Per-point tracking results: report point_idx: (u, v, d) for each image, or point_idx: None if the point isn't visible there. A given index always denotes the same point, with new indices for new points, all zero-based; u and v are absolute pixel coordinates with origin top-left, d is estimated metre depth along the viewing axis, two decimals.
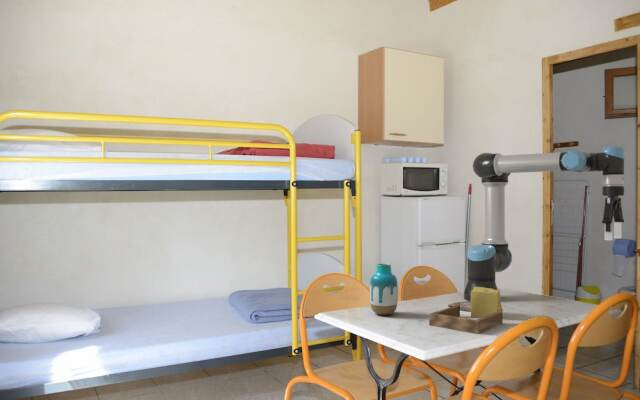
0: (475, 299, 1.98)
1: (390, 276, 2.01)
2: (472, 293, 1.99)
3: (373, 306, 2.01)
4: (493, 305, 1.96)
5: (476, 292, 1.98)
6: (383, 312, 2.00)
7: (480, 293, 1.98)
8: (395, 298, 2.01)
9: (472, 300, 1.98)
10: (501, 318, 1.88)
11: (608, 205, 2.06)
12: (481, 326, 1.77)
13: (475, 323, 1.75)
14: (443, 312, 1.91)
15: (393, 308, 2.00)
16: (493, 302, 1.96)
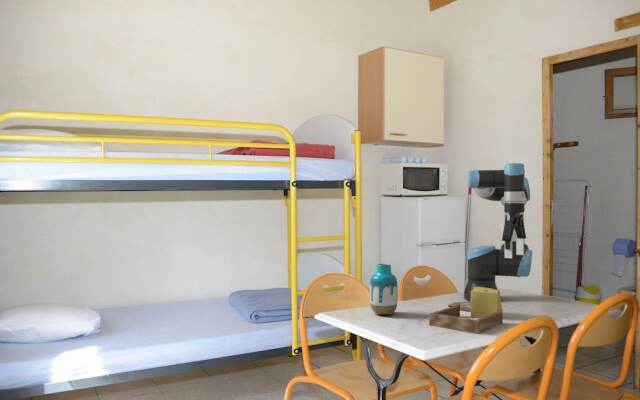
0: (475, 299, 1.98)
1: (390, 276, 2.01)
2: (472, 293, 1.99)
3: (373, 306, 2.01)
4: (493, 305, 1.96)
5: (476, 292, 1.98)
6: (383, 312, 2.00)
7: (480, 293, 1.98)
8: (395, 298, 2.01)
9: (472, 300, 1.98)
10: (501, 318, 1.88)
11: (508, 222, 2.04)
12: (481, 326, 1.77)
13: (475, 323, 1.75)
14: (443, 312, 1.91)
15: (393, 308, 2.00)
16: (493, 302, 1.96)
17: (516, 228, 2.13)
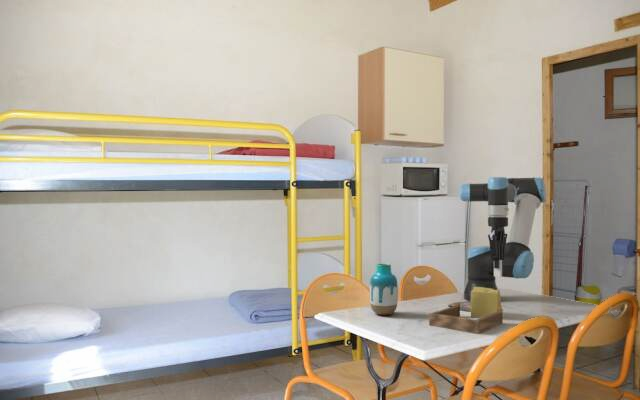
0: (475, 299, 1.98)
1: (390, 276, 2.01)
2: (472, 293, 1.99)
3: (373, 306, 2.01)
4: (493, 305, 1.96)
5: (476, 292, 1.98)
6: (383, 312, 2.00)
7: (480, 293, 1.98)
8: (395, 298, 2.01)
9: (472, 300, 1.98)
10: (501, 318, 1.88)
11: (492, 242, 2.06)
12: (481, 326, 1.77)
13: (475, 323, 1.75)
14: (443, 312, 1.91)
15: (393, 308, 2.00)
16: (493, 302, 1.96)
17: None
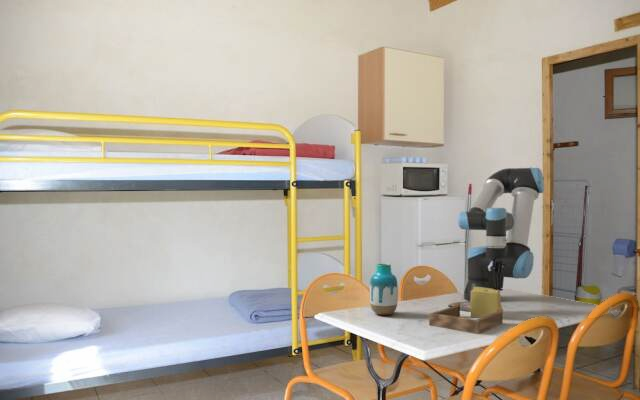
0: (475, 299, 1.98)
1: (390, 276, 2.01)
2: (472, 293, 1.99)
3: (373, 306, 2.01)
4: (493, 305, 1.96)
5: (476, 292, 1.98)
6: (383, 312, 2.00)
7: (480, 293, 1.98)
8: (395, 298, 2.01)
9: (472, 300, 1.98)
10: (501, 318, 1.88)
11: (490, 273, 2.04)
12: (481, 326, 1.77)
13: (475, 323, 1.75)
14: (443, 312, 1.91)
15: (393, 308, 2.00)
16: (493, 302, 1.96)
17: None
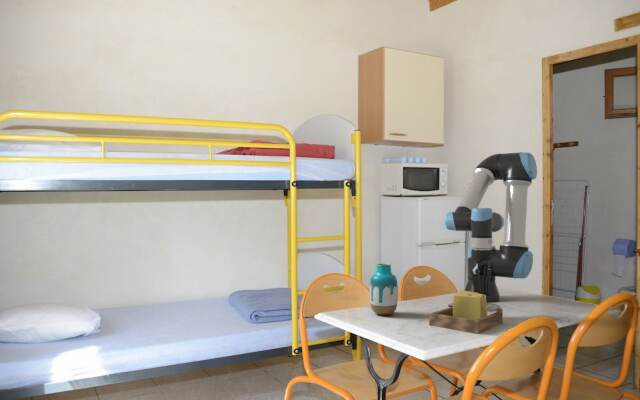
0: (457, 303, 1.89)
1: (390, 276, 2.01)
2: (454, 297, 1.90)
3: (373, 306, 2.01)
4: (476, 310, 1.87)
5: (458, 296, 1.90)
6: (383, 312, 2.00)
7: (463, 297, 1.89)
8: (395, 298, 2.01)
9: (454, 304, 1.90)
10: (501, 318, 1.88)
11: (475, 277, 1.95)
12: (481, 326, 1.77)
13: (475, 323, 1.75)
14: (443, 312, 1.91)
15: (393, 308, 2.00)
16: (476, 307, 1.87)
17: None
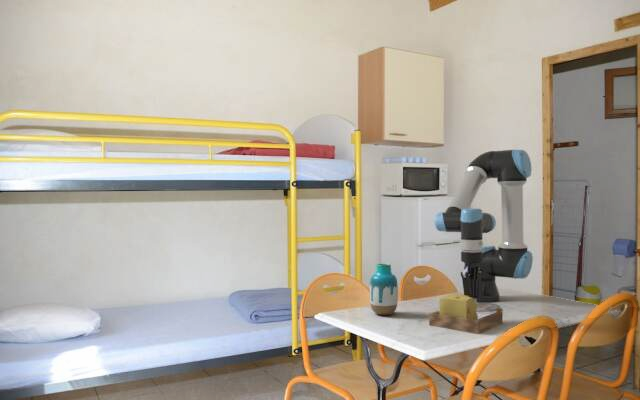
0: (444, 306, 1.85)
1: (390, 276, 2.01)
2: (441, 300, 1.86)
3: (373, 306, 2.01)
4: (462, 313, 1.81)
5: (445, 299, 1.85)
6: (383, 312, 2.00)
7: (449, 300, 1.84)
8: (395, 298, 2.01)
9: (441, 307, 1.85)
10: (501, 318, 1.88)
11: (465, 280, 1.89)
12: (481, 326, 1.77)
13: (475, 323, 1.75)
14: None
15: (393, 308, 2.00)
16: (462, 310, 1.81)
17: None
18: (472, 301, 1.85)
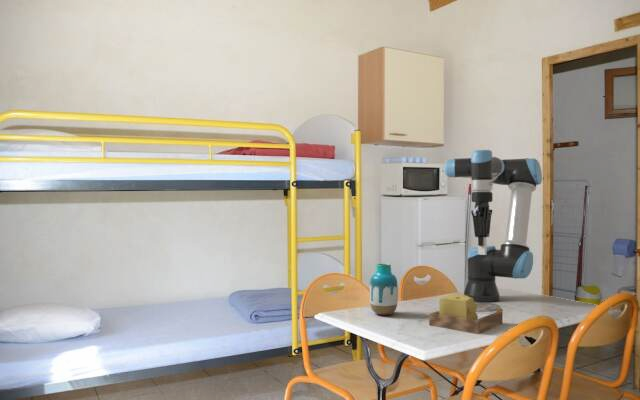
0: (444, 306, 1.85)
1: (390, 276, 2.01)
2: (441, 300, 1.86)
3: (373, 306, 2.01)
4: (462, 314, 1.81)
5: (445, 299, 1.85)
6: (383, 312, 2.00)
7: (449, 300, 1.84)
8: (395, 298, 2.01)
9: (441, 307, 1.85)
10: (501, 318, 1.88)
11: (476, 218, 1.95)
12: (481, 326, 1.77)
13: (475, 323, 1.75)
14: None
15: (393, 308, 2.00)
16: (462, 310, 1.81)
17: None
18: (472, 301, 1.85)
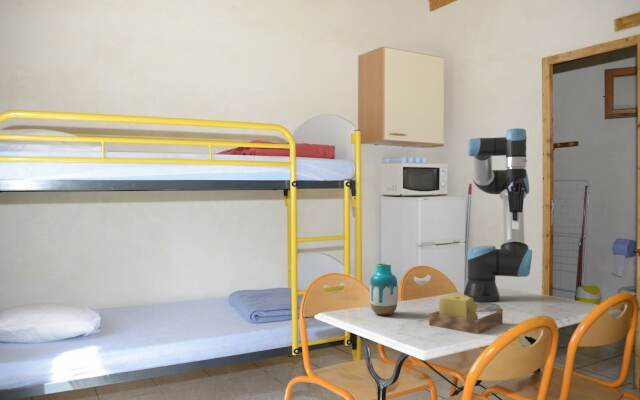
0: (444, 306, 1.85)
1: (390, 276, 2.01)
2: (441, 300, 1.86)
3: (373, 306, 2.01)
4: (462, 314, 1.81)
5: (445, 299, 1.85)
6: (383, 312, 2.00)
7: (449, 300, 1.84)
8: (395, 298, 2.01)
9: (441, 307, 1.85)
10: (501, 318, 1.88)
11: (511, 194, 2.04)
12: (481, 326, 1.77)
13: (475, 323, 1.75)
14: None
15: (393, 308, 2.00)
16: (462, 310, 1.81)
17: None
18: (472, 301, 1.85)
